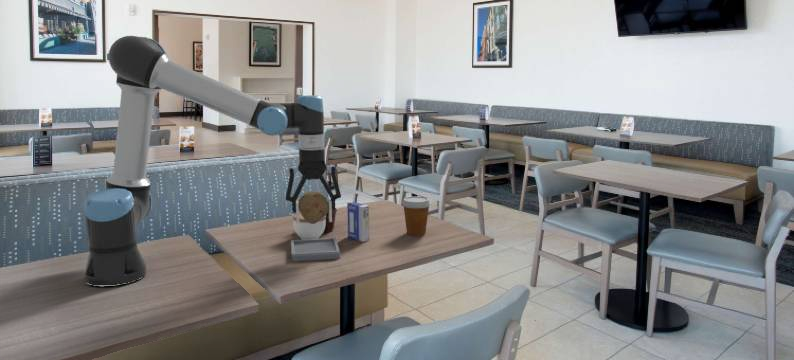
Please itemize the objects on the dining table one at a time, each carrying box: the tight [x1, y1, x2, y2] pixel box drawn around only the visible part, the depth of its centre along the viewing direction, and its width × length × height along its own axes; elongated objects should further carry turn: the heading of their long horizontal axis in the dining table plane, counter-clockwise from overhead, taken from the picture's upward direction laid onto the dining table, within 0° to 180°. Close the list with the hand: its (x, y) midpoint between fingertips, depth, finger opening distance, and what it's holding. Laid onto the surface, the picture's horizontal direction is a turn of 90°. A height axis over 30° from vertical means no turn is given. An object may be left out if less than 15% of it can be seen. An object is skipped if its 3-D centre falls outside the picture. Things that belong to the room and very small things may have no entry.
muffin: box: [323, 200, 338, 234], centre depth 203 cm, size 12×11×10 cm
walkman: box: [346, 201, 370, 243], centre depth 193 cm, size 8×3×12 cm, turn 43°
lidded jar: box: [292, 212, 326, 240], centre depth 194 cm, size 11×11×9 cm
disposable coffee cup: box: [401, 195, 431, 237], centre depth 199 cm, size 10×10×12 cm
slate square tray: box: [290, 237, 341, 262], centre depth 180 cm, size 14×14×2 cm
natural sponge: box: [298, 190, 329, 224], centre depth 177 cm, size 9×9×10 cm
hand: (314, 221), depth 178 cm, fingers closed on natural sponge, 9 cm apart
